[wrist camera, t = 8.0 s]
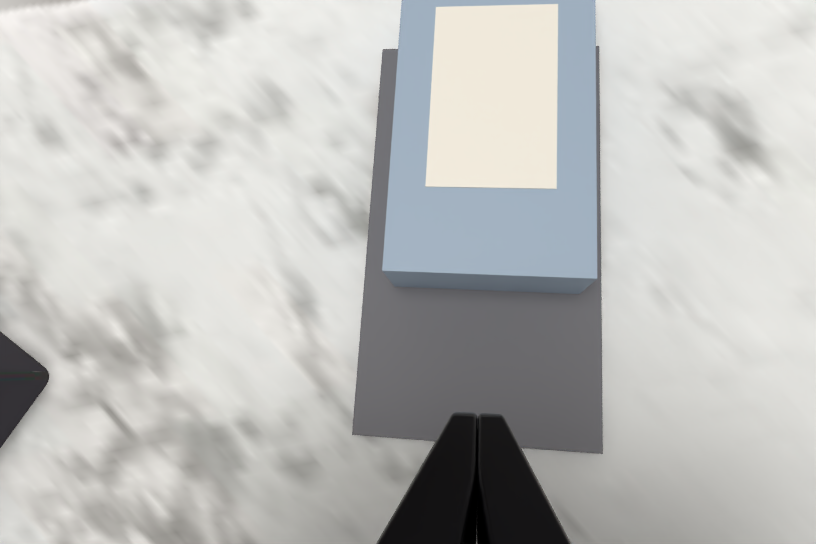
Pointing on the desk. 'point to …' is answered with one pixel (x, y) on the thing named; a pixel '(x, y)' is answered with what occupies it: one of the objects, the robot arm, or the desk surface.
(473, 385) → the mat
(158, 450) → the desk surface
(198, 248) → the desk surface
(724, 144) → the desk surface
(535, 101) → the card box
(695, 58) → the desk surface
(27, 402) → the calculator
